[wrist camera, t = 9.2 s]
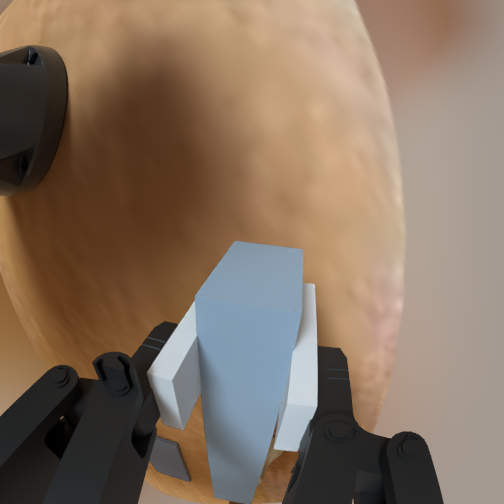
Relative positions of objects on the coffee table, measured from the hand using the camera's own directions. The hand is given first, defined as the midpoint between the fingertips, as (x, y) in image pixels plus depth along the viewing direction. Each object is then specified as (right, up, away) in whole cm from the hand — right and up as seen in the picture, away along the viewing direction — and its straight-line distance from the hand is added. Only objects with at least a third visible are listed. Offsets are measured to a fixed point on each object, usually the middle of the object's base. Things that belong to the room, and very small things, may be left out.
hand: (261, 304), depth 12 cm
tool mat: (-15, -32, +21) cm, 41 cm away
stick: (0, -7, +3) cm, 7 cm away
